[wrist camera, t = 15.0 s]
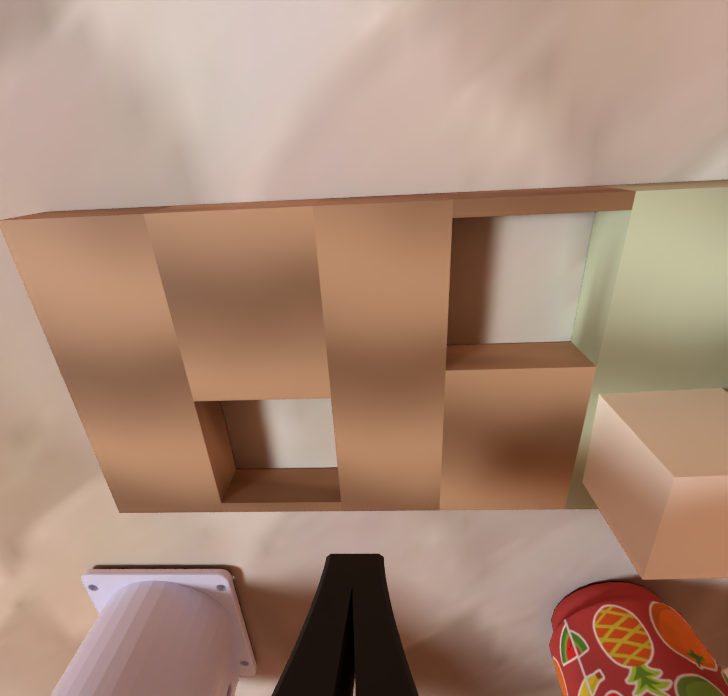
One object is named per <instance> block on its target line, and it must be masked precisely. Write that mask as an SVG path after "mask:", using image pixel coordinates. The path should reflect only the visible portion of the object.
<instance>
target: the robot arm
mask: <svg viewBox="0 0 728 696" xmlns="http://www.w3.org/2000/svg"><path fill="white" fill-rule="evenodd" d="M81 581H82V583H83V585H84V587H85V589H86V591H87V592H88V594H89V596H90V598H91V600H92V602H93V604H94V606H95V608H96V609H97V611H98V613H99V616H98V617H97V619H96V621H95V622H94V624H93V626H92V627H91V629H90V631H89V632H88V634H87V636H86V637H85V639H84V640H83V642H82V644H81V645H80V647H79V649H78V650H77V652H76V654H75V655H74V657H73V659H72V660H71V662H70V664H69V665H68V667H67V669H66V670H65V672H64V673H63V675H62V677H61V678H60V680H59V682H58V683H57V685H56V687H55V688H54V690H53V692H52V693H51V695H50V696H234V694H235V690H236V687H237V683H238V679H239V677H251V676H254V675H255V673H256V669H257V665H256V662H255V658H254V655H253V651H252V648H251V644H250V641H249V637H248V634H247V630H246V627H245V623H244V619H243V616H242V612H241V609H240V605H239V602H238V598H237V595H236V591H235V588H234V584H233V581H232V577H231V575H230V573H229V572H228V571H227V570H224V569H89V570H87V571H85V573H84V574H83V576H82V577H81ZM354 679H355V682H356V696H419V695H418V692H417V689H416V687H415V684H414V681H413V678H412V675H411V672H410V669H409V666H408V663H407V660H406V657H405V653H404V650H403V647H402V643H401V640H400V636H399V633H398V630H397V626H396V622H395V619H394V615H393V611H392V606H391V602H390V598H389V593H388V588H387V582H386V576H385V568H384V557H383V556H381V555H380V554H330V555H329V556H327V558H326V562H325V566H324V570H323V573H322V576H321V579H320V583H319V586H318V589H317V591H316V594H315V597H314V600H313V602H312V605H311V608H310V610H309V613H308V616H307V618H306V620H305V623H304V625H303V628H302V630H301V632H300V635H299V637H298V640H297V642H296V644H295V647H294V649H293V651H292V653H291V656H290V658H289V660H288V662H287V664H286V666H285V668H284V671H283V673H282V675H281V677H280V679H279V681H278V683H277V685H276V687H275V689H274V692H273V694H272V696H353V688H354Z"/></svg>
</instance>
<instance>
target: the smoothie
mask: <svg viewBox="0 0 728 696" xmlns="http://www.w3.org/2000/svg"><path fill="white" fill-rule="evenodd" d="M551 622H552V627H553V635H552V637H551V640H550V643H549V647H550V651H551V655H552V659H553V662H554V665H555V669H556V672H557V676H558V679H559V683H560V686H561V690H562V693H563V696H728V678H727V676H726V675H725V674H724V672H723V671H722V669H721V668H720V667H719V665H718V664H717V663H716V661H715V660H714V658H713V657H712V656H711V654H710V653H709V652H708V650H707V649H706V647H705V646H704V645H703V643H702V642H701V641H700V639H699V638H698V637H697V635H696V634H695V632H694V631H693V630H692V628H691V627H690V626H689V624H688V623H687V621H686V620H685V619H684V617H683V616H682V614H681V613H679V612H678V611H676V610H675V609H673V608H671V607H670V606H668V605H666V604H663V603H662V602H661V601H660V599H659V598H658V597H657V596H656V595H655V594H654V593H653V592H651V591H650V590H648V589H646V588H645V587H643V586H639V585H635V584H631V583H624V582H608V583H601V584H595V585H591V586H588V587H585V588H583V589H580V590H577V591H575V592H574V593H572V594H571V595H569V596H568V597H566V598H565V599H563V600H562V601H561V602H560V604H559V605H558V606H557V607H556V608H555V609H554V612H553V615H552V618H551Z"/></svg>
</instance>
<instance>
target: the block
mask: <svg viewBox="0 0 728 696" xmlns="http://www.w3.org/2000/svg"><path fill="white" fill-rule="evenodd" d="M582 482H583V484H584V486H585V487H586V489H587V491H588V492H589V494H590V495H591V497H592V499H593V500H594V502H595V504H596V505H597V507H598V508H599V510H600V512H601V513H602V515H603V517H604V518H605V520H606V521H607V523H608V525H609V526H610V528H611V530H612V531H613V533H614V534H615V536H616V538H617V539H618V541H619V543H620V544H621V546H622V547H623V549H624V551H625V552H626V554H627V556H628V557H629V559H630V560H631V562H632V564H633V565H634V567H635V568H636V570H637V572H638V573H639V575H640V577H641V578H642V580H653V579H697V578H728V392H727V391H725V390H724V389H722V388H708V389H689V390H670V391H651V392H631V393H612V394H599V398H598V403H597V408H596V413H595V419H594V424H593V429H592V434H591V439H590V445H589V450H588V455H587V460H586V466H585V471H584V476H583V481H582Z"/></svg>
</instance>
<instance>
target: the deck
mask: <svg viewBox="0 0 728 696" xmlns="http://www.w3.org/2000/svg"><path fill="white" fill-rule="evenodd" d="M576 212H596V213H595V218H594V224H593V229H592V234H591V240H590V245H589V250H588V255H587V261H586V266H585V271H584V277H583V282H582V287H581V293H580V298H579V303H578V309H577V314H576V319H575V324H574V330H573V335H572V340H571V342H545V343H510V344H474V345H447V328H448V306H449V283H450V260H451V238H452V218H463V217H486V216H508V215H531V214H554V213H576ZM0 229H1V231H2V233H3V236H4V238H5V240H6V243H7V245H8V248H9V250H10V252H11V255H12V257H13V260H14V262H15V264H16V267H17V269H18V271H19V274H20V276H21V279H22V281H23V283H24V286H25V288H26V291H27V293H28V295H29V298H30V300H31V303H32V305H33V307H34V310H35V312H36V314H37V317H38V319H39V322H40V324H41V326H42V329H43V331H44V334H45V336H46V338H47V341H48V343H49V345H50V348H51V350H52V353H53V355H54V357H55V360H56V362H57V365H58V367H59V369H60V372H61V374H62V376H63V379H64V381H65V384H66V386H67V388H68V391H69V393H70V396H71V398H72V400H73V403H74V405H75V407H76V410H77V412H78V415H79V417H80V419H81V422H82V424H83V427H84V429H85V431H86V434H87V436H88V438H89V441H90V443H91V446H92V448H93V450H94V453H95V455H96V458H97V460H98V462H99V465H100V467H101V469H102V472H103V474H104V477H105V479H106V481H107V484H108V486H109V489H110V491H111V493H112V496H113V498H114V501H115V503H116V505H117V508H118V510H119V512H120V513H161V512H282V511H404V510H526V509H599V508H598V507H597V505H596V504H595V502H594V500H593V499H592V497H591V495H590V494H589V492H588V491H587V489H586V487H585V486H584V484H583V482H582V481H583V476H584V471H585V466H586V460H587V455H588V450H589V445H590V439H591V434H592V429H593V424H594V419H595V413H596V408H597V403H598V398H599V394H612V393H631V392H651V391H670V390H689V389H708V388H722V389H724V390H725V391H727V392H728V180H712V181H690V182H669V183H648V184H627V185H605V186H584V187H563V188H542V189H521V190H499V191H478V192H457V193H436V194H415V195H393V196H372V197H351V198H330V199H308V200H287V201H266V202H245V203H224V204H202V205H181V206H160V207H139V208H118V209H96V210H75V211H54V212H43V213H37V214H32V215H26V216H20V217H15V218H9V219H4V220H0ZM317 398H331V402H332V412H333V423H334V433H335V443H336V454H337V464H338V468H304V469H236V466H235V462H234V458H233V453H232V449H231V445H230V441H229V436H228V432H227V428H226V424H225V419H224V415H223V411H222V407H221V402H220V401H227V400H272V399H317Z"/></svg>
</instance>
